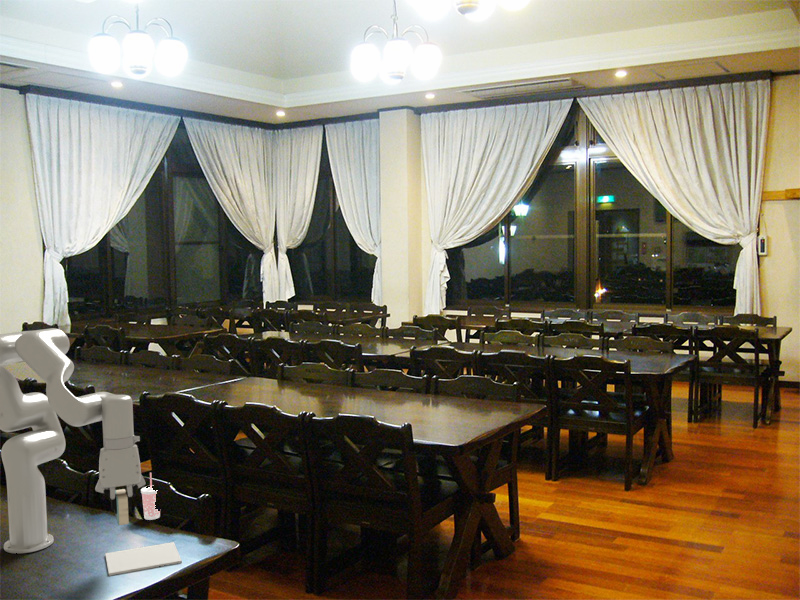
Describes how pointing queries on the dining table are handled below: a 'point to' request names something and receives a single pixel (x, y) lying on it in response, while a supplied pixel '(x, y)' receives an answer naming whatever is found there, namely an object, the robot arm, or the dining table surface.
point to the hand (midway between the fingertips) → (121, 510)
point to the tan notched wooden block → (122, 507)
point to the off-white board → (142, 558)
